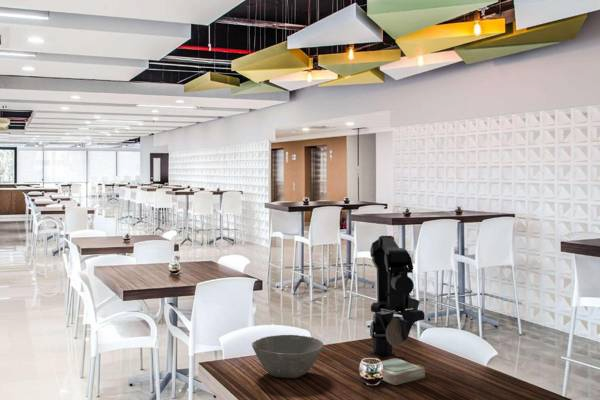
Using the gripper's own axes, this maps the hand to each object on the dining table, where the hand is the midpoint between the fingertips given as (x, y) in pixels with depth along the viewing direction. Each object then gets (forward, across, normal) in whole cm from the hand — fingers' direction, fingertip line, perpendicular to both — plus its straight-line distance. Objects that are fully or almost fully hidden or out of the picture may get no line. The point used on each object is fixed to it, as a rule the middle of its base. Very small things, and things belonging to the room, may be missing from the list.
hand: (396, 338), depth 178 cm
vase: (+2, 0, 0) cm, 2 cm away
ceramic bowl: (+12, +20, +28) cm, 37 cm away
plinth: (+12, 0, 0) cm, 12 cm away
